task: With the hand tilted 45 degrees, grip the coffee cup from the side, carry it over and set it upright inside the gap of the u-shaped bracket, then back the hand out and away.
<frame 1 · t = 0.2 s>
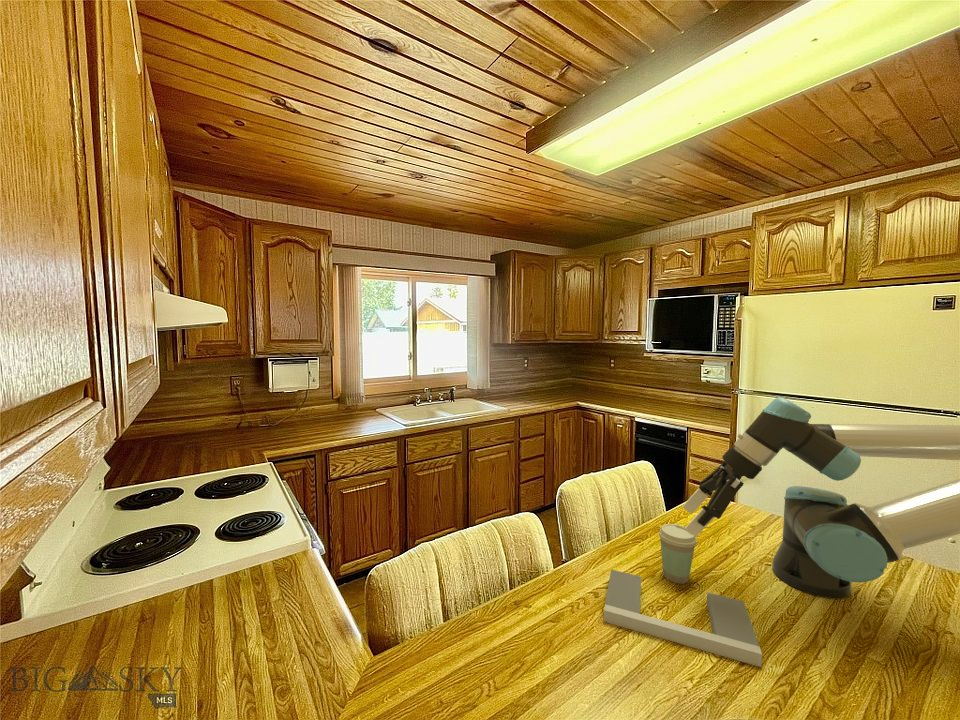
hand: (688, 520, 97), 15 cm above the table, tool tilted 35°, fingers open, 13 cm apart
u-shaped bracket: (674, 613, 86), on the table
coffee cup: (675, 577, 99), on the table
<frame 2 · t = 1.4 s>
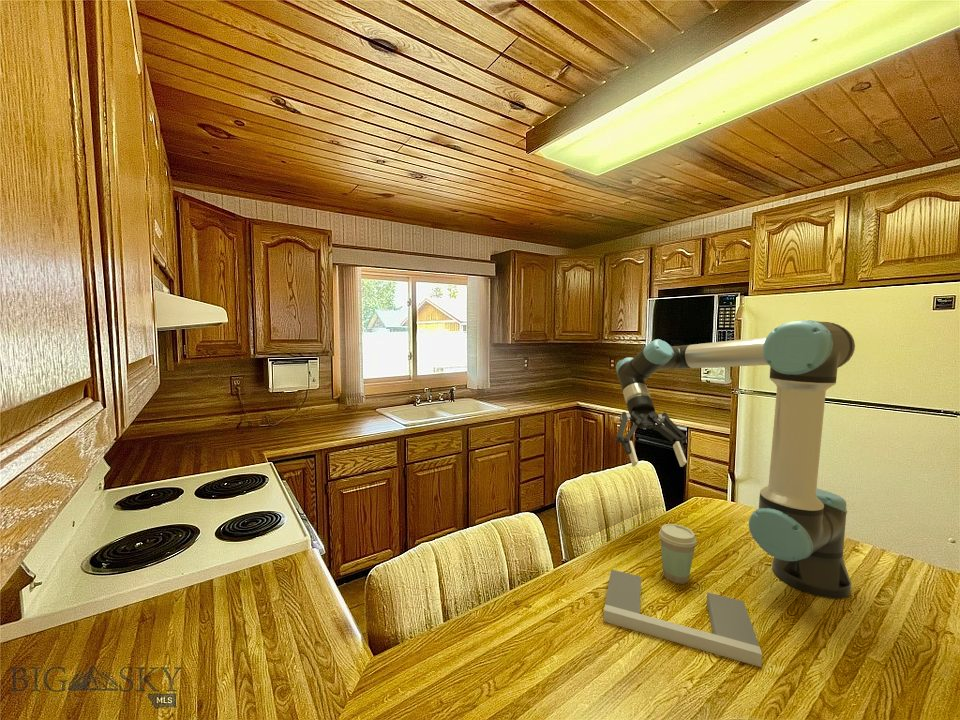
hand: (659, 464, 108), 25 cm above the table, tool tilted 45°, fingers open, 13 cm apart
nothing on the table moved.
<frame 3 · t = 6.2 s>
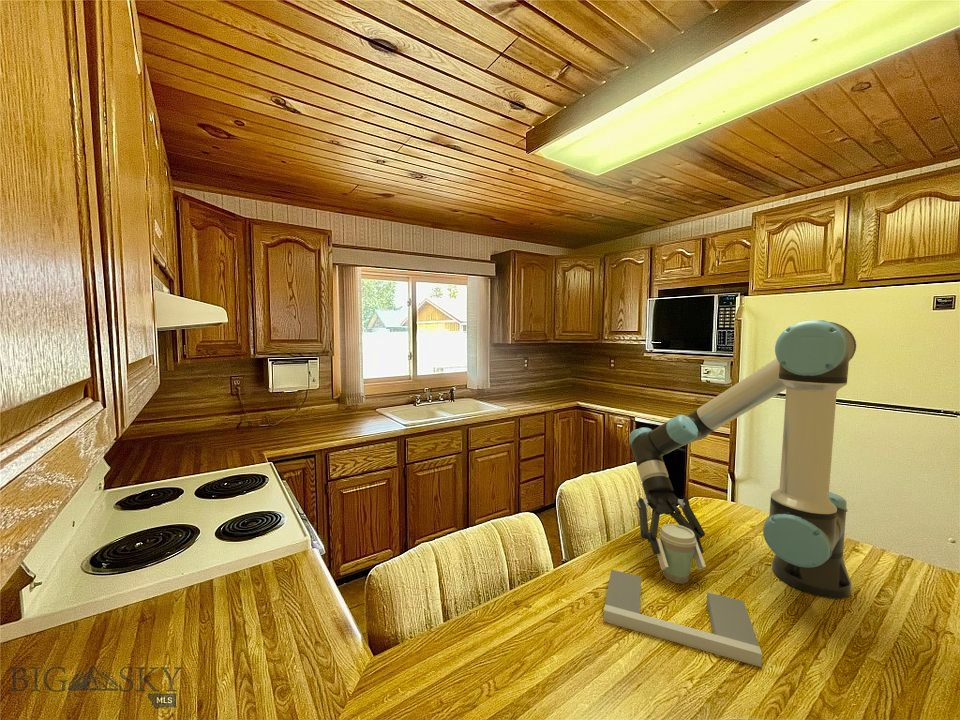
hand: (683, 568, 96), 4 cm above the table, tool tilted 45°, fingers closed on coffee cup, 8 cm apart
coffee cup: (675, 577, 99), on the table, touching gripper
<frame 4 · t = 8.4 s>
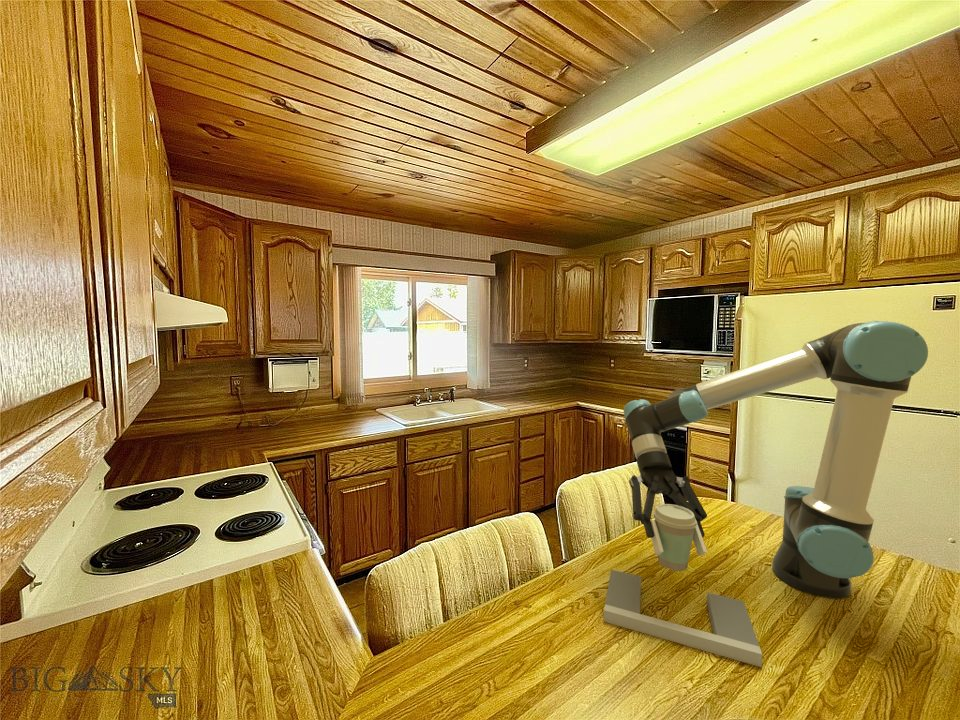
hand: (681, 553, 83), 15 cm above the table, tool tilted 45°, fingers closed on coffee cup, 8 cm apart
coffee cup: (672, 564, 87), point 10 cm above the table, touching gripper
when the fingers open (6 cm above the table, at t = 10.7 s): coffee cup drops 1 cm, on the table.
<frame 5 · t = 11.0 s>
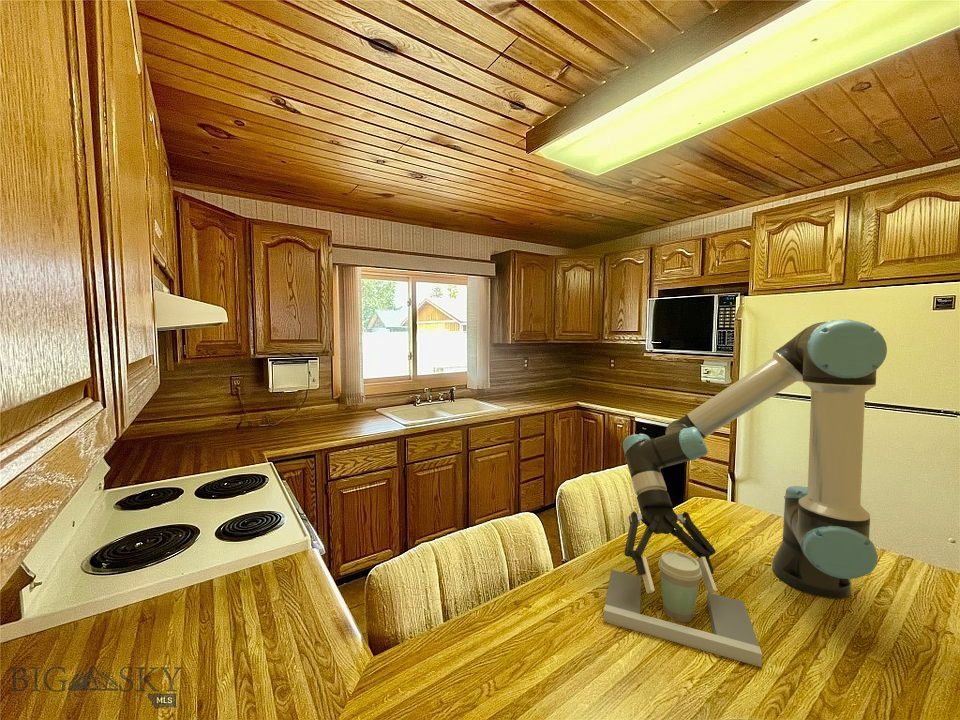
hand: (681, 591, 83), 7 cm above the table, tool tilted 45°, fingers open, 13 cm apart
coffee cup: (677, 613, 86), on the table
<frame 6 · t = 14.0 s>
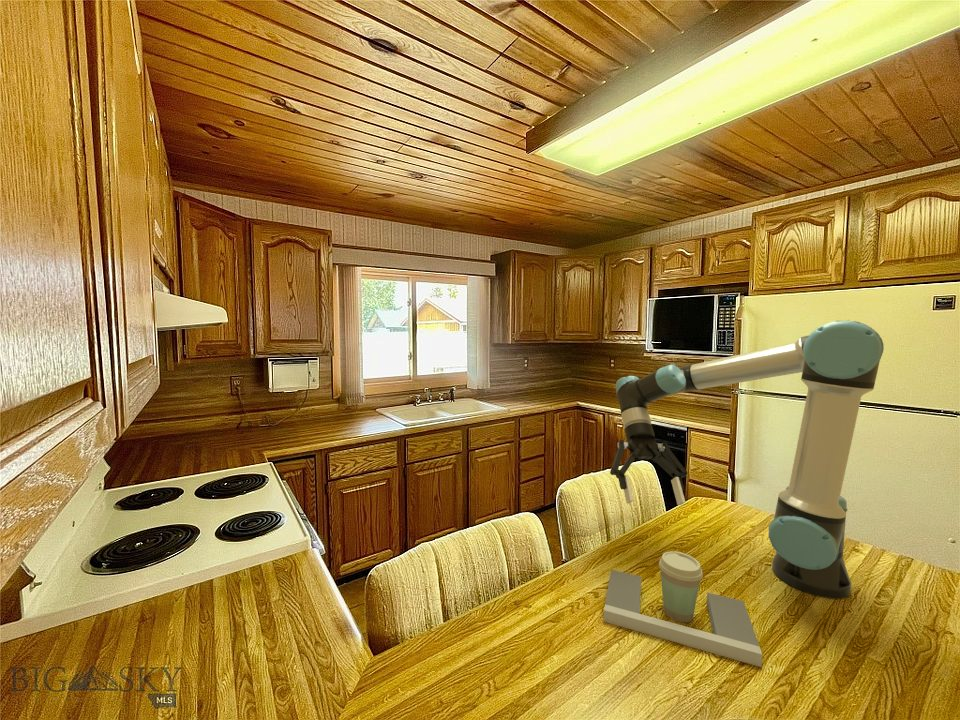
hand: (655, 503, 100), 18 cm above the table, tool tilted 40°, fingers open, 13 cm apart
nothing on the table moved.
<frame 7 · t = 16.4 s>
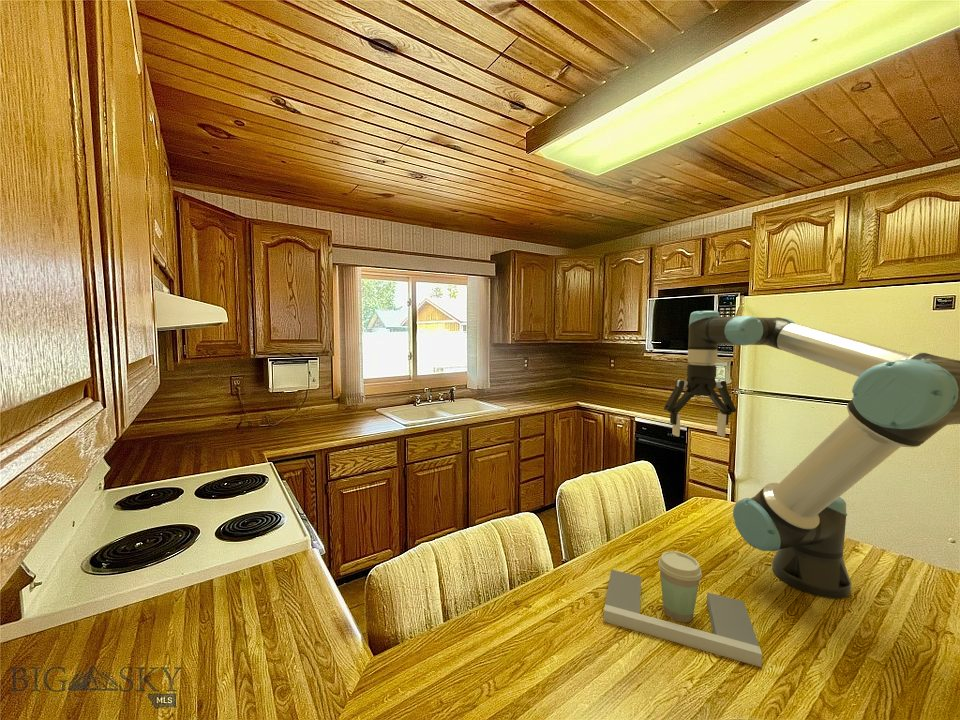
hand: (698, 435, 116), 32 cm above the table, tool pointing down, fingers open, 13 cm apart
nothing on the table moved.
at the end: coffee cup inside the target area on the u-shaped bracket (0.9 cm from its centre), point 0.0 cm above the u-shaped bracket's base; coffee cup tilted 1°; the gripper is holding nothing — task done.
